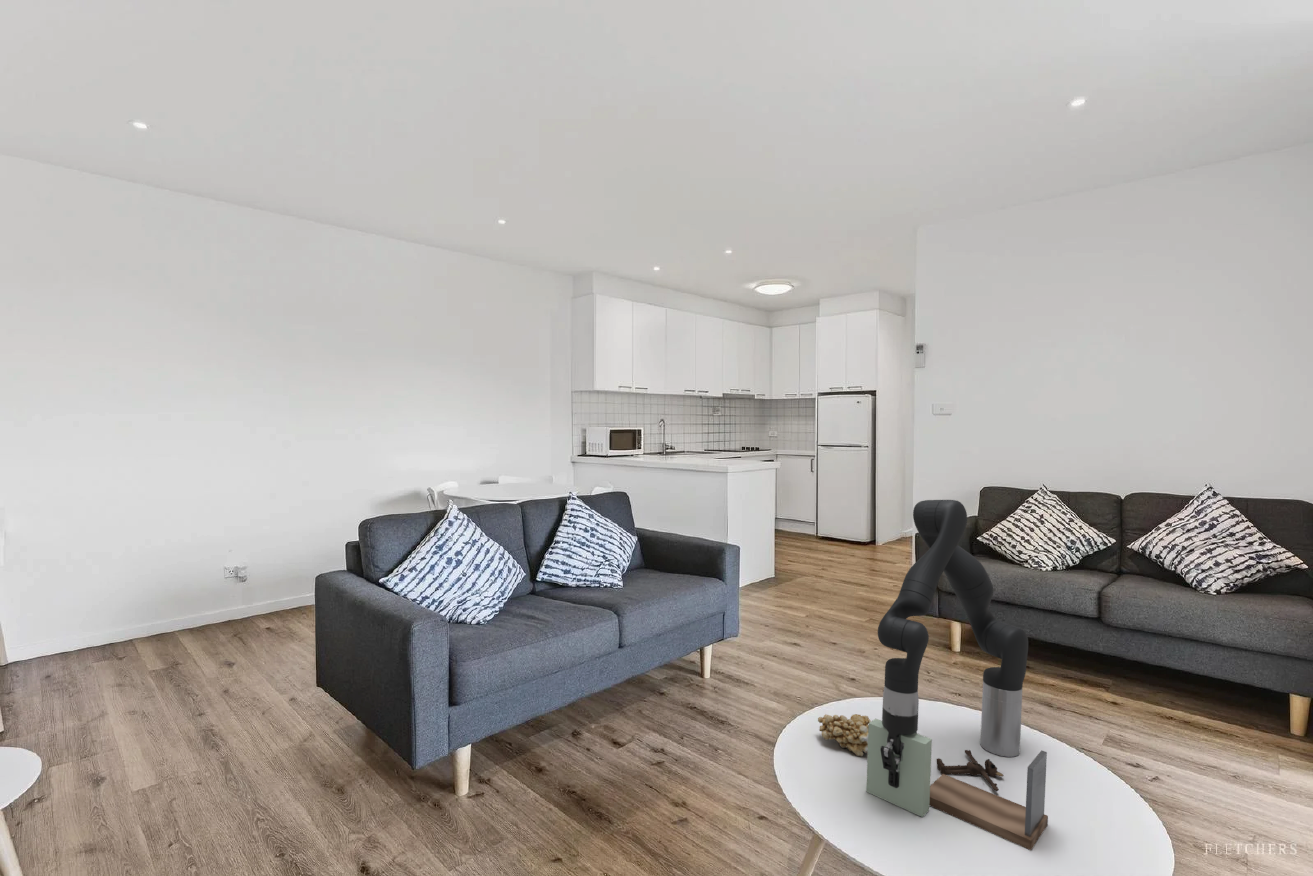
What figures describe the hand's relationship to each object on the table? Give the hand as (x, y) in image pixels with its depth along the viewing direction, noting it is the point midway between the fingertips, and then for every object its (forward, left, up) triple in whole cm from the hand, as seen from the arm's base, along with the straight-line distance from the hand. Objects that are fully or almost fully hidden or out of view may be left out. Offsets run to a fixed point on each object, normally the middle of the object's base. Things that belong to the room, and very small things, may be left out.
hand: (897, 782), depth 144 cm
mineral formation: (-15, -21, -5) cm, 27 cm away
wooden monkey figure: (-25, +7, -5) cm, 26 cm away
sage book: (0, 0, -4) cm, 4 cm away
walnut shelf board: (-10, +15, -4) cm, 18 cm away
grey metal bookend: (-10, +25, -2) cm, 27 cm away
